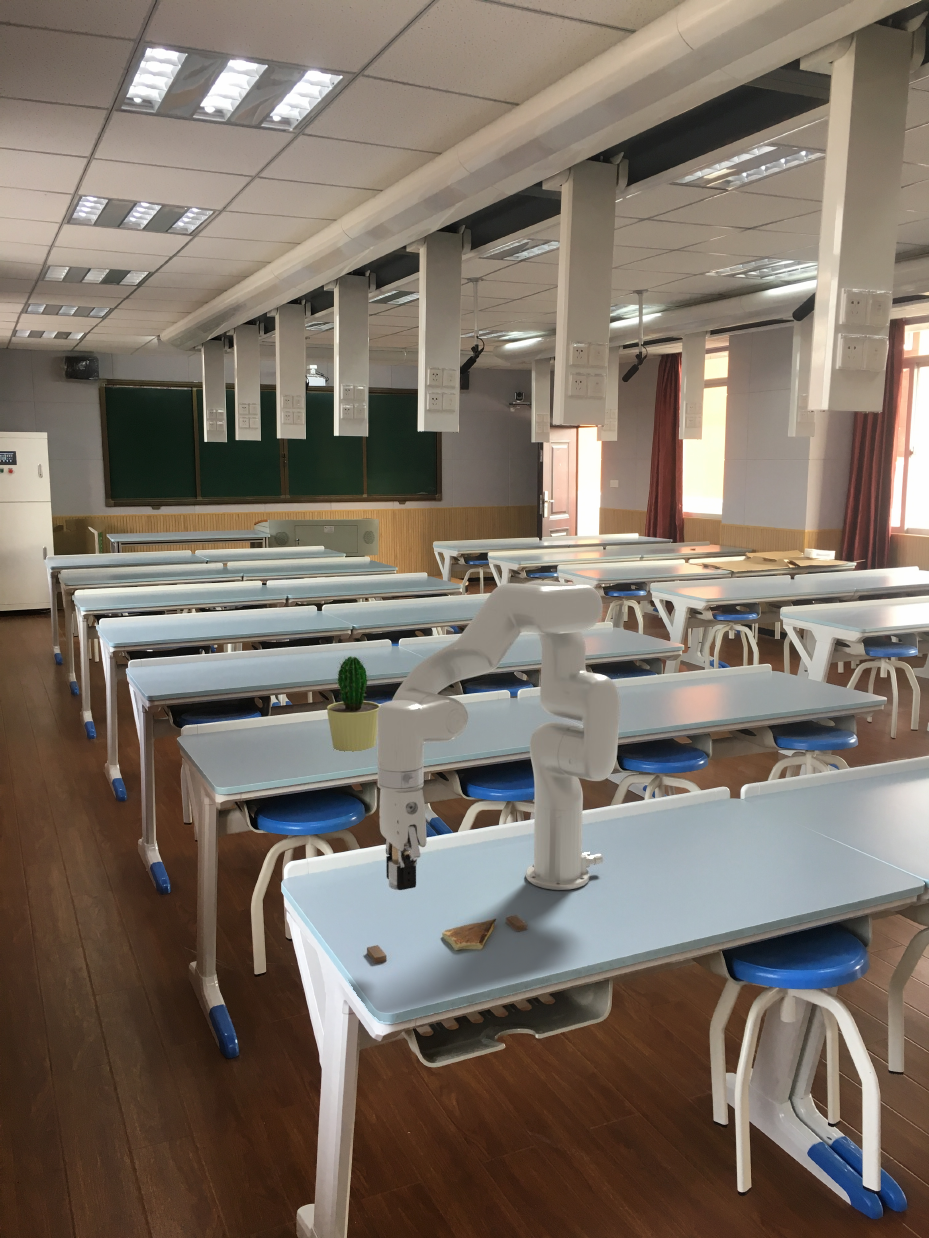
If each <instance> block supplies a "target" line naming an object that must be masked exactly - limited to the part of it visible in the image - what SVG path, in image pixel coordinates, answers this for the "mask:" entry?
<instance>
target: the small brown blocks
mask: <svg viewBox="0 0 929 1238" xmlns="http://www.w3.org/2000/svg"><path fill="white" fill-rule="evenodd" d="M505 919H506V920H505V922H506V924H508V926H510V927H511V928H512V929H513V930H514V931H515V932H522V931H525V930H526V931H527V930H528V924H527V923H526V921H524V920H523V919H521V918H520V917H519V916H518V915H517V914H514V915H510V916H506V918H505ZM366 954H367V955H368V956H369V957H370V959H371V960H372V962H373V963H374V964H379V963H383V962H384V963H385V962H387V954H386V952H385V951H384V950H383V949H382V948H381V947H380V945H379V944H377V945H376V944H375V945H372V946H367V947H366Z"/></svg>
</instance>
